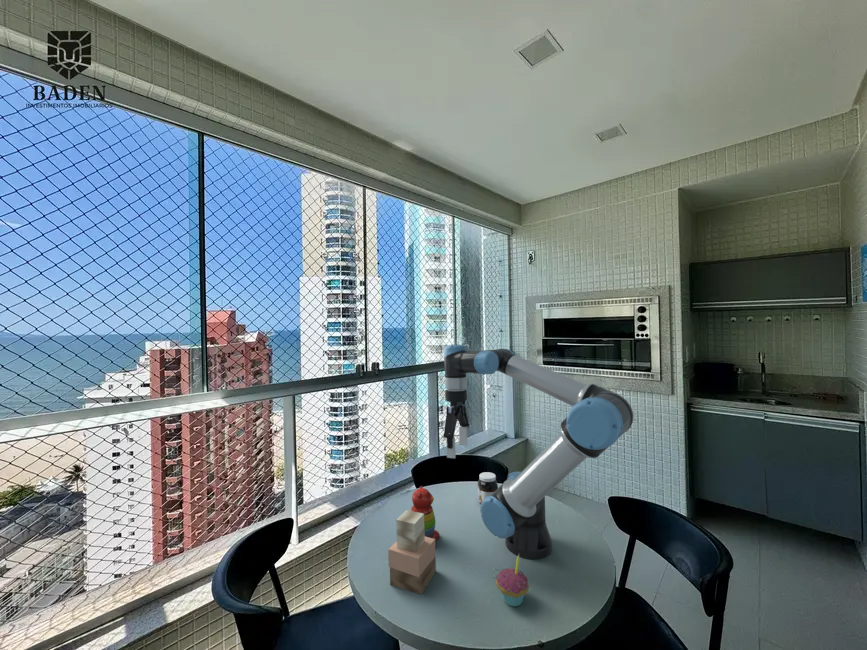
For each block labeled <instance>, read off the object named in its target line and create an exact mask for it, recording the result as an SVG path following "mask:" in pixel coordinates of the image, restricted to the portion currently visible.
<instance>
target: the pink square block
mask: <svg viewBox="0 0 867 650" xmlns="http://www.w3.org/2000/svg"><path fill="white" fill-rule="evenodd" d="M435 544H436V541H435V539H433V538H429V537H425V541H424V543H423V544H422V545H421V546H420V548H419V549H418V550H417V551H416V553H414V552H410V551H407V550H403V549H399V548H397V540H396V541H395V542H394V543H393V544H392V545H391V546H390V547H389V548H388V551H387V552H388V553H387V555H388V556H387V557H388V568H389V569H390V568H393V569H396V570H399V571H402V572H405V573H408V574H411V575H414V576H417V577H420V575H421V574H422V573H423V571H424V570H425V569H426V568H427V566H428V565H429V564H430V563H431V561H432V560H433V559H434V557H435V555H436V548H435Z"/></svg>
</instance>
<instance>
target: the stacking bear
mask: <svg viewBox="0 0 867 650" xmlns="http://www.w3.org/2000/svg"><path fill="white" fill-rule="evenodd" d="M411 501H412V506H411V508H410V510H409V511H414V512H418V513H423V514H424V531H425V537H429V538H433V539H435V542H436V541H437V540H438V539H440V532H439V531H438V530H436V515H435V512H434V509H433V506H432V504H433V502H434V496H433V495H432V493H431V492H430V491H429V489H427V488H424V487H423V486H422V485H421V486H419V488H418V489H415V491H414V492H412V496H411ZM436 548H437V544H436V543H435V549H436Z"/></svg>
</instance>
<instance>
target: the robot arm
mask: <svg viewBox="0 0 867 650" xmlns="http://www.w3.org/2000/svg"><path fill="white" fill-rule="evenodd" d="M443 351H444V354H443V361H444V363H443V364H444V380H443V382H444V386H445V387H444V388H445V389H446V390H445V392H444V394H445V395H444V396H445V401H446V402H449V403H450V404H449V406H446V411H445V412H446V416H445V423H444V430H443V431H444V432H443V438H445V440H446V458H447V459H456V458H457V456H456V437H455V433H456V428H457V421H458V424H459V427H458V439H459V446H466V447H467V446H468V428H467V427H470V421H469V417H468V412H467V411H468V410H467V407H466V406H467V405H466V401H467V400H468V390H467V388H468V384H467V383H468V381H467V374H478V375H493V374H495V373H496V372H500V373H502V374H504V375H506V376H509V377H511V378H513V379H515V380H517V381H519V382H520V383H523V384H525V385H527V386H530V387H532V388H534V389H535V390H538V391H540V392H542V393H543V394H546V395H547V396H549V397H553V398H555V399H556V400H559V401H561V402H562V403H565V404H567V405H570V406H572V407H571V409H570V410H569V412H568V414H567V416H566V417H565V418H564V419H563V420H562V421H561V423H560V425H559V427H560V433H558V434H557V435H556V436H555V438H554V439H553V440H552V441H551V442H550V443H549V444H547V445H546V447H545V448H543V450H542V451H541V452H539V454H538V455H537V456H536V457H534V459H533V460H532V461H531V462H530V463H529V464H528V465H527V466H526V467H525V468H524V469H523V470H522V471H513V472H510V473H509V474H508V477H507V479H505V481H503V483H501V485H500V486H498V489H497V490H496V491H495V492H494V493H493V494H492V495H490V496H487V497H486V498H485V499H484V500H483V502H482V504H480V514H481V515H480V517H481V520H482V522H483V524H484V526H485V527H486V529H487V530H488V531H489V532H490V533H491V534H492V535H493V536H494V537H498V538H499V539H505V540H504V543H505V546H506V547H507V548H506V549H508V550H509V552H511V553H512V554H513V555H516V556H518V555H519V557H521V558H524V559H531V560H537V559H538V560H539V559H543V558H546V557H547V556H549V555H550V554H552V551H553V540H552V536H551V534H550V532H549V529H548V526H547V523H546V496H547V495H548V494H549V493H550V492H552V490H553V489H555V488H556V487H557V485H559V484H560V483H561V482H562V481H563V480H564V479H565V478H567V476H568V475H570V474H571V473H572V472H573V471H574V470H575V469H576V468H577V467H579V465H581V464H582V463H583V462H584V461H585V460H586V459H587V458H588V459H597V458H598V457H599V456H600V455H601V454H602V453H604V452H605V451H606V450H607V449H608V448H609V447H611V446H612V445H614V444H615V443H616V442H617V440H618V439H619V438H620V437H622V436H623V435H624V434H625V433H627V432H628V431H629V430H630V428H631V427H632V425H633V422H634V411H633V408H632V405H631V404H630V402H629V401H628V400H627V399H625V397H623V396H622V395H620V394H618V393H616V392H615V391H611V390H609V389H606V388H604V387H602V386H599V385H597V384H594V383H590V384H585V383H583V382H580V381H578V380H575V379H573V378H571V377H569V376H566V375H563V374H561V373H558V372H556V371H554V370H552V369H549V368H547V367H544V366H542V365H540V364H538V363H535V362H532V361H530V360H528V359H526V358H523V357H520V356H518V355H516V354H515V353H514V352H513V350H511V349H508V348H498V349H485V350H467V349H466V345H465V344H448V345H446V346H444V349H443Z"/></svg>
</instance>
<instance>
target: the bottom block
mask: <svg viewBox="0 0 867 650" xmlns="http://www.w3.org/2000/svg"><path fill="white" fill-rule="evenodd" d="M436 556H437V555H436V554H435V557H434V559H433V560H432V561H431V563H430V564H429V565H428V566H427V568H426V569H425V570H424V571H423V573H422V574H421V575H420V577H417V576H414V575H411V574H408V573H405V572H402V571H399V570H396V569H393V568H390V567H389V585H390V586H393V587H394V588H395V587H396V588H398V589H401V590H402V589H403V590H406V591H409V592H413V593H416V594H419V595H423V594H424V592H425V591H426V588H427V587H428V585H429V583H430V582H431V580H432V578H433V577H434V575H435V573H436V572H437V563H436V561H437V560H436V559H437V558H436Z"/></svg>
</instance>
